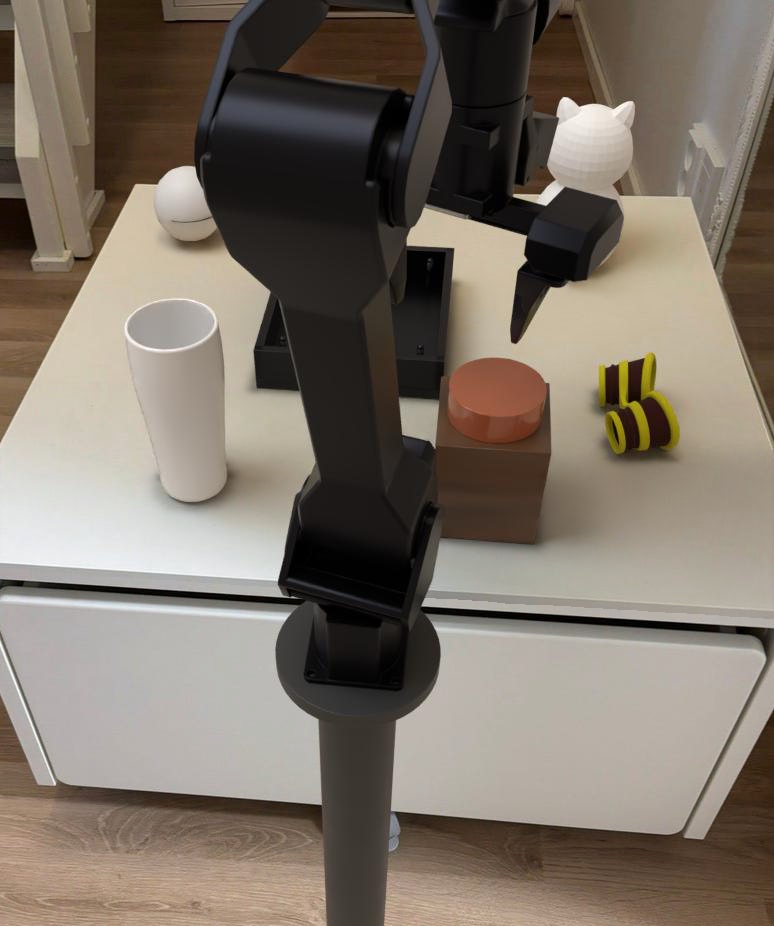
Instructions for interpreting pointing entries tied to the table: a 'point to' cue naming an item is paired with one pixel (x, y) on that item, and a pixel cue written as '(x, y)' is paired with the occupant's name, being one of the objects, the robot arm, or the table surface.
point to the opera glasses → (636, 407)
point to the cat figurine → (590, 150)
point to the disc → (496, 400)
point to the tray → (413, 328)
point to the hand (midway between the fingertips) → (455, 320)
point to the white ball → (183, 205)
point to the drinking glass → (181, 393)
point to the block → (491, 480)
